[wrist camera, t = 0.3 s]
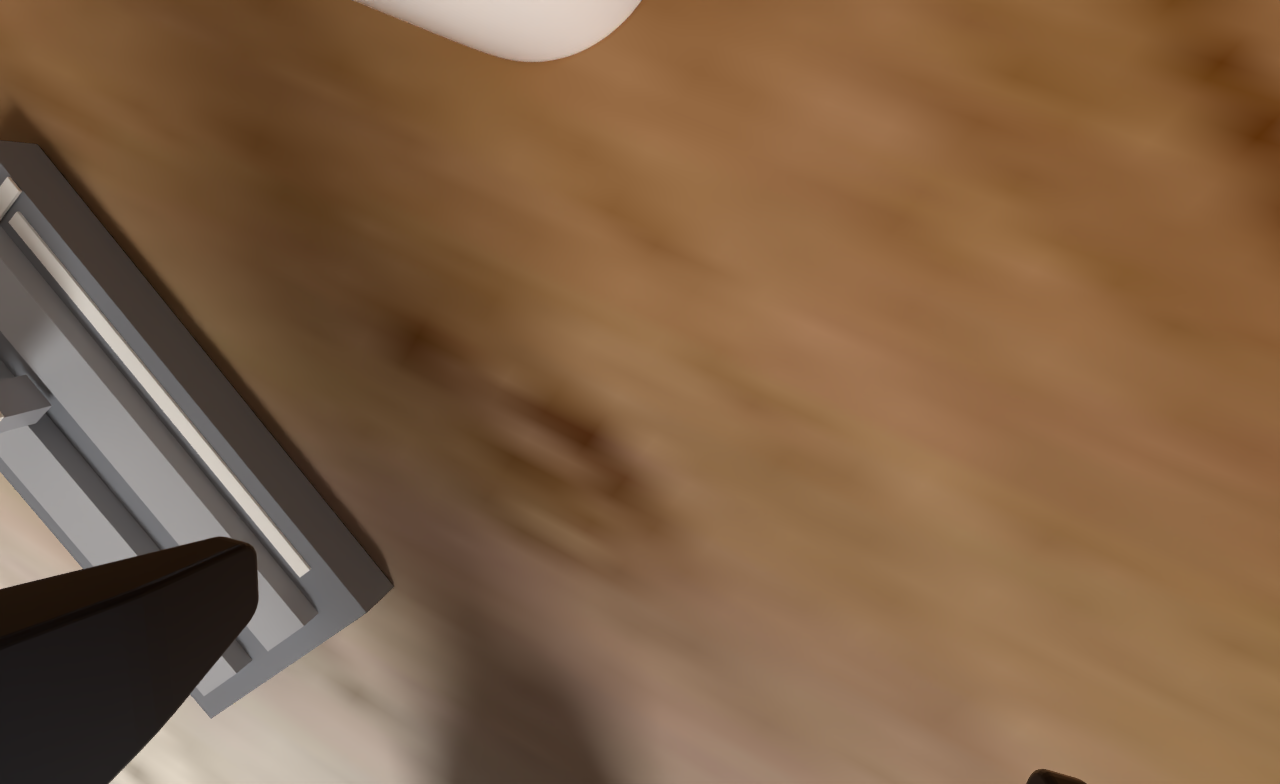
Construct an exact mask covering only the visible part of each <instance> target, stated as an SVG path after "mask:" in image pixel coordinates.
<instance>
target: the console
mask: <svg viewBox="0 0 1280 784" xmlns="http://www.w3.org/2000/svg"><path fill="white" fill-rule="evenodd" d="M21 375H27V376H28V377H29V379H30V380H31V381H32V382H33V383H34V385H35V386H36V387H37V388H38V389H39V391H40V392H41V393H42V394H43V395H44V397H45V398H46V399H47V400H48V401H49V402H50V404H51V405H52V406H51V407H50V408H49V410H48V411H47V412H46V413H45V414H44V415H43V416H42V417H41V418H40V419H39V420H38V421H37V423H35V424H31V425H27V426H24V427H20V428H16V429H13V430H9V431H6V432H2V433H0V472H1V473H2V474H3V475H4V477H5V478H6V479H7V480H8V481H9V483H10V484H11V485H12V486H13V487H14V488H15V490H16V491H17V492H18V493H19V494H20V495H21V497H22V498H23V499H24V500H25V501H26V502H27V504H28V505H29V506H30V507H31V508H32V509H33V511H34V512H35V513H36V514H37V515H38V517H39V518H40V519H41V520H42V521H43V522H44V524H45V525H46V526H47V527H48V528H49V529H50V531H51V532H52V533H53V534H54V535H55V536H56V538H57V539H58V540H59V541H60V542H61V543H62V545H63V546H64V547H65V548H66V549H67V550H68V552H69V553H70V554H71V555H72V556H73V558H74V559H75V560H76V561H77V562H78V563H79V565H80V566H81V567H82V568H83V569H86V568H90V567H94V566H98V565H102V564H106V563H110V562H114V561H119V560H123V559H127V558H131V557H135V556H139V555H143V554H147V553H151V552H155V551H160V550H164V549H168V548H172V547H176V546H180V545H184V544H188V543H192V542H197V541H201V540H205V539H209V538H213V537H218V536H223V537H229V538H232V539H236V540H239V541H243V542H246V543H249V544H250V545H252V546H253V547H254V549H255V551H256V553H257V568H258V591H259V601H258V606H257V609H256V611H255V614H254V616H253V617H252V619H251V620H250V622H249V623H248V624H247V626H246V627H245V628H244V629H243V631H242V632H241V633H240V634H239V635H238V637H237V638H236V639H235V640H234V641H233V643H232V644H231V645H230V646H229V648H228V649H227V650H226V651H225V652H224V654H223V655H222V656H221V657H220V658H219V660H218V661H217V662H216V663H215V665H214V666H213V667H212V668H211V669H210V671H209V672H208V673H207V674H206V675H205V677H204V678H203V679H202V680H201V682H200V683H199V684H198V685H197V686H196V688H195V689H194V690H193V691H192V692H191V694H190V695H191V696H192V697H193V698H194V699H195V701H196V702H197V703H198V704H199V705H200V706H201V708H202V709H203V710H204V711H205V712H206V713H207V715H208V716H209V717H210V718H213V717H214V716H216V715H217V714H219V713H220V712H222V711H223V710H225V709H226V708H227V707H229V706H230V705H232V704H233V703H235V702H236V701H238V700H239V699H241V698H242V697H244V696H245V695H247V694H248V693H250V692H251V691H252V690H254V689H255V688H257V687H258V686H260V685H261V684H263V683H264V682H266V681H267V680H269V679H270V678H272V677H273V676H275V675H276V674H277V673H279V672H280V671H282V670H283V669H285V668H286V667H288V666H289V665H291V664H292V663H294V662H295V661H297V660H298V659H300V658H301V657H302V656H304V655H305V654H307V653H308V652H310V651H311V650H313V649H314V648H316V647H317V646H319V645H320V644H322V643H323V642H325V641H326V640H327V639H329V638H330V637H332V636H333V635H335V634H336V633H338V632H339V631H341V630H342V629H344V628H345V627H347V626H348V625H350V624H351V623H352V622H354V621H355V620H357V619H358V618H360V617H361V616H363V615H364V614H366V613H367V612H368V611H369V610H370V609H371V608H372V607H373V606H374V605H375V604H376V603H378V602H379V601H380V600H381V599H382V598H383V597H384V596H385V595H386V594H387V593H388V592H389V591H390V590H391V589H392V588H393V587H394V586H393V585H392V584H391V583H390V581H389V580H388V579H387V578H386V576H385V575H384V574H383V573H382V571H381V570H380V569H379V568H378V566H377V565H376V564H375V563H374V562H373V560H372V559H371V558H370V557H369V555H368V554H367V553H366V552H365V550H364V549H363V548H362V547H361V545H360V544H359V543H358V542H357V540H356V539H355V538H354V537H353V535H352V534H351V533H350V532H349V531H348V529H347V528H346V527H345V526H344V524H343V523H342V522H341V521H340V519H339V518H338V517H337V516H336V514H335V513H334V512H333V511H332V509H331V508H330V507H329V506H328V504H327V503H326V502H325V501H324V499H323V498H322V497H321V496H320V495H319V493H318V492H317V491H316V490H315V488H314V487H313V486H312V485H311V483H310V482H309V481H308V480H307V478H306V477H305V476H304V475H303V473H302V472H301V471H300V470H299V468H298V467H297V466H296V465H295V463H294V462H293V461H292V460H291V459H290V457H289V456H288V455H287V454H286V452H285V451H284V450H283V449H282V447H281V446H280V445H279V444H278V442H277V441H276V440H275V439H274V437H273V436H272V435H271V434H270V432H269V431H268V430H267V429H266V427H265V426H264V425H263V424H262V423H261V421H260V420H259V419H258V418H257V416H256V415H255V414H254V413H253V411H252V410H251V409H250V408H249V406H248V405H247V404H246V403H245V401H244V400H243V399H242V398H241V396H240V395H239V394H238V393H237V391H236V390H235V389H234V388H233V387H232V385H231V384H230V383H229V382H228V380H227V379H226V378H225V377H224V375H223V374H222V373H221V372H220V370H219V369H218V368H217V367H216V365H215V364H214V363H213V362H212V360H211V359H210V358H209V357H208V355H207V354H206V353H205V352H204V351H203V349H202V348H201V347H200V346H199V344H198V343H197V342H196V341H195V339H194V338H193V337H192V336H191V334H190V333H189V332H188V331H187V329H186V328H185V327H184V326H183V324H182V323H181V322H180V321H179V320H178V318H177V317H176V316H175V315H174V313H173V312H172V311H171V310H170V308H169V307H168V306H167V305H166V303H165V302H164V301H163V300H162V298H161V297H160V296H159V295H158V293H157V292H156V291H155V290H154V288H153V287H152V286H151V285H150V284H149V282H148V281H147V280H146V279H145V277H144V276H143V275H142V274H141V272H140V271H139V270H138V269H137V267H136V266H135V265H134V264H133V262H132V261H131V260H130V259H129V257H128V256H127V255H126V254H125V252H124V251H123V250H122V249H121V248H120V246H119V245H118V244H117V243H116V241H115V240H114V239H113V238H112V236H111V235H110V234H109V233H108V231H107V230H106V229H105V228H104V226H103V225H102V224H101V223H100V221H99V220H98V219H97V218H96V216H95V215H94V214H93V213H92V212H91V210H90V209H89V208H88V207H87V205H86V204H85V203H84V202H83V200H82V199H81V198H80V197H79V195H78V194H77V193H76V192H75V190H74V189H73V188H72V187H71V185H70V184H69V183H68V182H67V180H66V179H65V178H64V177H63V176H62V174H61V173H60V172H59V171H58V169H57V168H56V167H55V166H54V164H53V163H52V162H51V161H50V159H49V158H48V157H47V156H46V154H45V153H44V152H43V151H42V149H41V148H40V147H39V146H38V144H31V143H21V142H11V141H1V140H0V380H2V379H7V378H12V377H17V376H21Z"/></svg>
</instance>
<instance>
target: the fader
mask: <svg viewBox="0 0 1280 784" xmlns="http://www.w3.org/2000/svg"><path fill="white" fill-rule="evenodd" d="M51 406H52V405H51V404H50V402H49V401H48V400H47V399H46V398H45V397H44V395H43V394H42V393H41V392H40V391H39V389H38V388H37V387H36V386H35V385H34V383H33V382H32V381H31V380H30V379H29V377H28V376H27V375H21V376H17V377H12V378H7V379H2V380H0V433H2V432H6V431H9V430H13V429H16V428H20V427H24V426H27V425H31V424H35V423H37V421H38V420H39V419H40V418H41V417H42V416H43V415H44V414H45V413H46V412H47V411H48V410H49V408H50V407H51Z"/></svg>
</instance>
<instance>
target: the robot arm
mask: <svg viewBox="0 0 1280 784" xmlns="http://www.w3.org/2000/svg"><path fill="white" fill-rule="evenodd" d="M258 601H259V591H258V568H257V553H256V551H255V549H254V547H253V546H252V545H250V544H249V543H246V542H243V541H239V540H236V539H232V538H229V537H223V536H218V537H213V538H209V539H205V540H201V541H197V542H192V543H188V544H184V545H180V546H176V547H172V548H168V549H164V550H160V551H155V552H151V553H147V554H143V555H139V556H135V557H131V558H127V559H123V560H119V561H114V562H110V563H106V564H102V565H98V566H94V567H90V568H86V569H82V570H78V571H73V572H69V573H65V574H61V575H57V576H53V577H49V578H45V579H41V580H36V581H32V582H28V583H24V584H20V585H16V586H12V587H8V588H4V589H0V784H109V783H110V782H111V781H112V780H113V779H114V778H115V777H116V776H117V775H118V774H119V773H120V772H121V771H122V769H123V768H124V767H125V766H126V765H127V764H128V763H129V762H130V761H131V760H132V759H133V758H134V757H135V756H136V755H137V754H138V753H139V752H140V751H141V750H142V749H143V748H144V747H145V746H146V744H147V743H148V742H149V741H150V740H151V739H152V738H153V737H154V736H155V735H156V734H157V733H158V732H159V730H160V729H161V728H162V727H163V726H164V725H165V723H166V722H167V721H168V720H169V719H170V718H171V716H172V715H173V714H174V713H175V712H176V711H177V709H178V708H179V707H180V706H181V705H182V703H183V702H184V701H185V700H186V699H187V697H188V696H189V695H190V694H191V692H192V691H193V690H194V689H195V688H196V686H197V685H198V684H199V683H200V682H201V680H202V679H203V678H204V677H205V675H206V674H207V673H208V672H209V671H210V669H211V668H212V667H213V666H214V665H215V663H216V662H217V661H218V660H219V658H220V657H221V656H222V655H223V654H224V652H225V651H226V650H227V649H228V648H229V646H230V645H231V644H232V643H233V641H234V640H235V639H236V638H237V637H238V635H239V634H240V633H241V632H242V631H243V629H244V628H245V627H246V626H247V624H248V623H249V622H250V620H251V619H252V617H253V616H254V614H255V611H256V609H257V606H258ZM1026 784H1086V783H1085V782H1083V781H1082V780H1080V779H1077V778H1074V777H1071V776H1067V775H1064V774H1060V773H1057V772H1053V771H1050V770H1046V769H1038V770H1036V771H1034V772H1033V773H1032V774H1031V776H1030V777H1029V779H1028V781H1027V783H1026Z"/></svg>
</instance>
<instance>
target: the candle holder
mask: <svg viewBox="0 0 1280 784" xmlns="http://www.w3.org/2000/svg"><path fill="white" fill-rule="evenodd" d="M352 1H355V2H357V3H360V4H362V5H364V6H367V7H369V8H372V9H374V10H377V11H379V12H382V13H384V14H387V15H389V16H392V17H394V18H397V19H399V20H401V21H404V22H406V23H409V24H411V25H414V26H416V27H419V28H421V29H424V30H426V31H429V32H431V33H434V34H436V35H439V36H441V37H444V38H446V39H449V40H451V41H454V42H456V43H459V44H462V45H464V46H467V47H469V48H472V49H475V50H477V51H480V52H483V53H486V54H489V55H492V56H496V57H499V58H503V59H508V60H513V61H522V62H543V61H551V60H556V59H561V58H564V57H568V56H571V55H574V54H576V53H579V52H581V51H583V50H585V49H587V48H589V47H591V46H593V45H595V44H596V43H598V42H599V41H601V40H602V39H604V38H605V37H607V36H608V35H609V34H611V33H612V32H613V31H614V30H615V29H617V28H618V27H619V26H620V25H621V24H622V23H623V22H624V21H625V20H626V19H627V18H628V17H629V16H630V15H631V13H632V12H633V11H634V10H635V9H636V7H637V6H638V5H639V3H640V2H641V1H642V0H352Z"/></svg>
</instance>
